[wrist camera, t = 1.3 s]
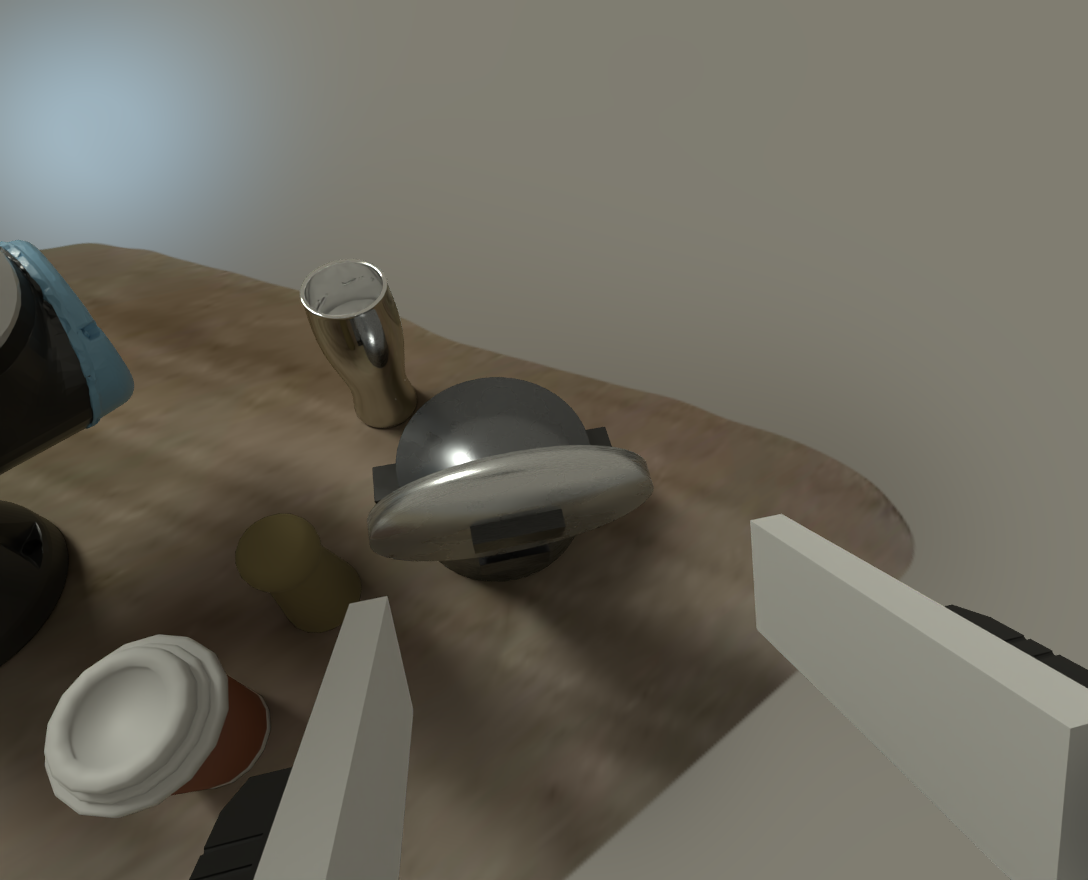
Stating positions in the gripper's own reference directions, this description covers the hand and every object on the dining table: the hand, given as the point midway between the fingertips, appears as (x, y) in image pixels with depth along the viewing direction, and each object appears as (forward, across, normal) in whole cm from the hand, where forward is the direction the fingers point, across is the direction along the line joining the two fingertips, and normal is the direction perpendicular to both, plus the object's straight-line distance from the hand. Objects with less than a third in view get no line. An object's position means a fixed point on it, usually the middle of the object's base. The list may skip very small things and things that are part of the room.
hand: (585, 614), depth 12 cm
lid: (+19, 0, -4) cm, 20 cm away
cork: (+33, -15, -13) cm, 39 cm away
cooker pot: (+37, 0, -9) cm, 38 cm away
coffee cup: (+27, -22, -20) cm, 40 cm away
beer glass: (+46, -9, 0) cm, 47 cm away
